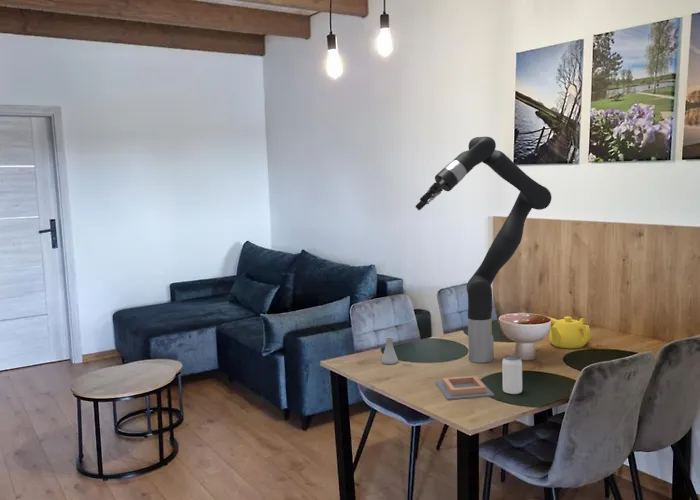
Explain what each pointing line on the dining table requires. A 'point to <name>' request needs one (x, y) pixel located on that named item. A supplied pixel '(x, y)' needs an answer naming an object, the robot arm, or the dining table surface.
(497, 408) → the dining table surface
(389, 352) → the flask
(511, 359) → the can
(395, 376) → the dining table surface
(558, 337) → the teapot
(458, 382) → the tray
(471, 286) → the robot arm
